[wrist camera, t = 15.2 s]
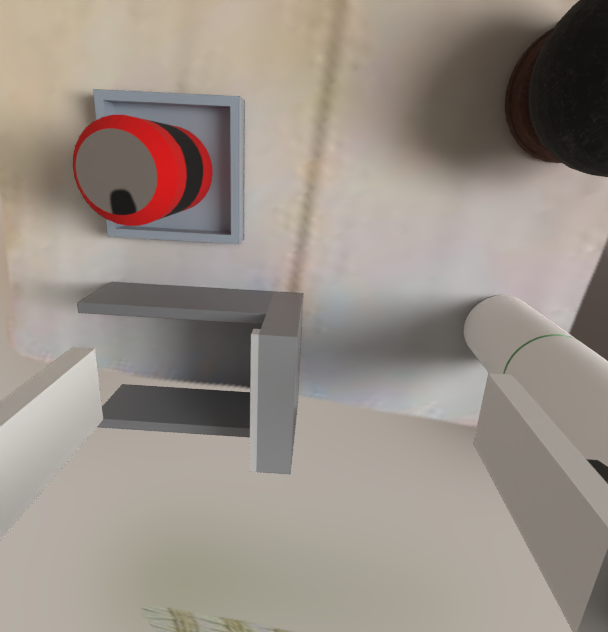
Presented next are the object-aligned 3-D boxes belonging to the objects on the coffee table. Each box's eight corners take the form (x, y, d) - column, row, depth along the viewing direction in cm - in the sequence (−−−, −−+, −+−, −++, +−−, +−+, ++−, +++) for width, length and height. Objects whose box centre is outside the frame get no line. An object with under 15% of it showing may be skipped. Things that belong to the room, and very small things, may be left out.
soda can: (143, 213, 43) (78, 233, 32) (125, 130, 41) (48, 118, 29) (219, 206, 42) (180, 223, 31) (206, 121, 40) (158, 106, 29)
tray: (106, 93, 40) (93, 89, 38) (244, 100, 40) (239, 96, 38) (119, 232, 44) (107, 236, 42) (243, 239, 44) (239, 244, 42)
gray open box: (112, 281, 46) (43, 321, 35) (303, 293, 46) (297, 337, 34) (123, 392, 50) (65, 458, 39) (297, 403, 50) (290, 474, 39)
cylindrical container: (474, 368, 48) (621, 570, 24) (455, 309, 46) (596, 470, 22) (540, 345, 47) (764, 535, 23) (524, 284, 44) (751, 425, 21)
